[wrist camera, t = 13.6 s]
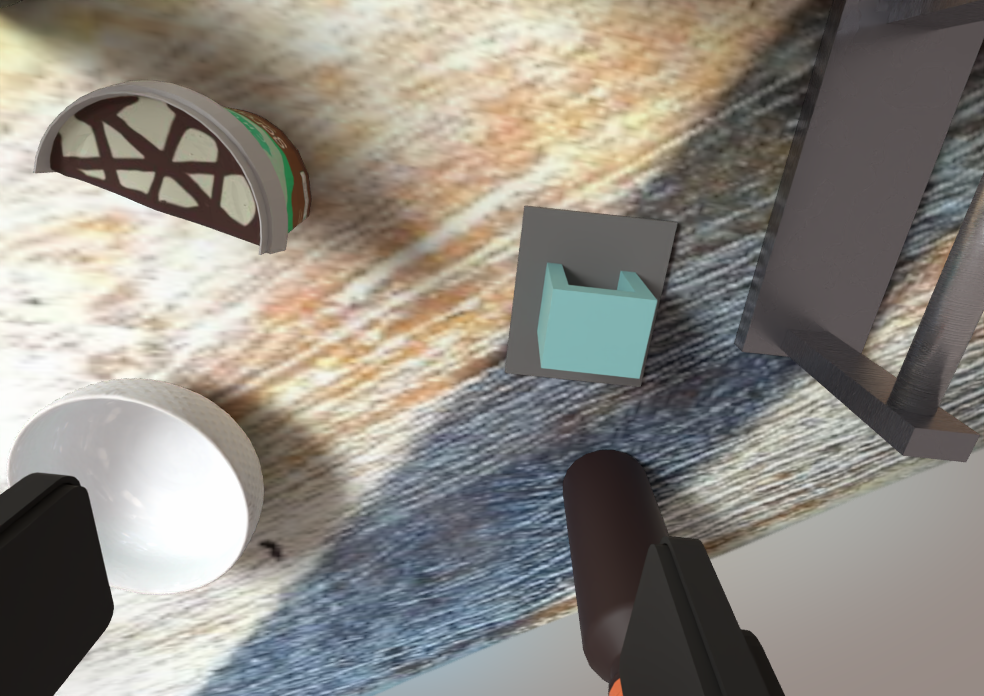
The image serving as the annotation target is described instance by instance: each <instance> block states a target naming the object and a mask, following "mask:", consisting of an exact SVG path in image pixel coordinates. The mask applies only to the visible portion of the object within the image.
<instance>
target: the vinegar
mask: <svg viewBox="0 0 984 696" xmlns="http://www.w3.org/2000/svg"><path fill="white" fill-rule="evenodd" d="M563 498H564V506H565V514H566V521H567V529H568V537H569V544H570V552H571V560H572V567H573V575H574V583H575V590H576V598H577V606H578V613H579V621H580V629H581V636H582V644H583V650H584V654H585V656H586V658H587V660H588V663H589V665H590V667H591V668H592V669H593V670H594V671H595V672H596V673H597V674H598V675H599V676H600V677H601V678H602V679H603V680H604V681H606V682H608V683H609V691H608V692H609V693H608V695H609V696H623V693H622V688H621V683H620V674H619V662H620V655H621V651H622V647H623V643H624V640H625V636H626V632H627V628H628V624H629V621H630V617H631V613H632V609H633V605H634V602H635V598H636V594H637V590H638V586H639V583H640V579H641V575H642V571H643V567H644V564H645V560H646V556H647V552H648V549H649V546H650V545H651V544H659V543H660V541H661V539H662V538H663V536H669V534H668V531H667V528H666V526H665V523H664V520H663V518H662V515H661V512H660V509H659V507H658V504H657V501H656V499H655V496H654V493H653V491H652V488H651V485H650V482H649V480H648V477H647V474H646V472H645V470H644V468H643V467H642V466H641V465H640V463H639V462H638V461H637V460H636V459H634V458H633V457H631V456H629V455H628V454H626V453H623V452H619V451H615V450H598V451H595V452H591V453H588V454H586V455H584V456H582V457H581V458H579V459H578V460H576V461H575V462H574V463H573V464H572V465H571V467H570V468H569V469H568V470H567V473H566V475H565V478H564V480H563Z"/></svg>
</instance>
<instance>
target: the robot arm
mask: <svg viewBox="0 0 984 696" xmlns="http://www.w3.org/2000/svg"><path fill="white" fill-rule="evenodd" d="M113 610H114V604H113V599H112V595H111V590H110V586H109V582H108V577H107V573H106V568H105V564H104V560H103V555H102V551H101V547H100V542H99V538H98V533H97V529H96V525H95V520H94V516H93V511H92V507H91V503H90V498H89V494H88V491H87V489H86V488H85V487H83V486H81V485H80V482H79V480H78V479H77V478H76V477H73V476H69V475H59V474H49V473H39V472H36V473H31V474H29V475H27V476H25V477H24V478H22V479H21V480H20V481H18V482H17V483H16V484H14V485H13V486H11V487H10V488H9V489H7V490H6V491H5V492H3V493H2V494H1V495H0V696H53V695H54V694H55V693H56V692H57V690H58V689H59V688H60V687H61V685H62V684H63V683H64V682H65V680H66V679H67V678H68V676H69V675H70V674H71V673H72V671H73V670H74V669H75V668H76V666H77V665H78V664H79V663H80V661H81V660H82V659H83V658H84V656H85V655H86V654H87V653H88V651H89V650H90V649H91V647H92V646H93V645H94V644H95V642H96V641H97V640H98V639H99V637H100V636H101V635H102V634H103V632H104V631H105V630H106V628H107V627H108V625H109V623H110V621H111V618H112V615H113ZM619 674H620V683H621V688H622V693H623V696H785V695H784V693H783V690H782V688H781V686H780V684H779V682H778V680H777V677H776V675H775V673H774V671H773V669H772V667H771V665H770V662H769V660H768V658H767V656H766V654H765V652H764V650H763V648H762V646H761V644H760V642H759V641H758V639H757V637H756V636H755V635H754V634H753V633H752V632H750V631H748V630H741V629H740V627H739V625H738V622H737V620H736V618H735V616H734V614H733V611H732V609H731V606H730V604H729V602H728V600H727V597H726V595H725V593H724V591H723V588H722V586H721V584H720V582H719V579H718V577H717V575H716V572H715V570H714V568H713V566H712V563H711V561H710V559H709V557H708V554H707V552H706V550H705V548H704V546H703V544H702V542H701V541H700V540H698V539H691V538H681V537H671V536H663V538H662V539H661V541H660V543H659V544H651V545H650V546H649V549H648V552H647V556H646V560H645V564H644V567H643V571H642V575H641V579H640V583H639V586H638V590H637V594H636V598H635V602H634V605H633V609H632V613H631V617H630V621H629V624H628V628H627V632H626V636H625V640H624V643H623V647H622V651H621V655H620V662H619Z"/></svg>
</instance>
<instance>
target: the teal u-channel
mask: <svg viewBox="0 0 984 696" xmlns="http://www.w3.org/2000/svg"><path fill="white" fill-rule="evenodd" d="M656 304H657V299H656V298H655V297H654V296H653V294H652V293H651V292H650V290H649V289H648V288H647V287H646V285H645V284H644V283H643V281H642V280H641V279H640V278H639V276H638V275H637V274H636V272H628V271H621V272H620V277H619V282H618V287H617V290H610V289H601V288H592V287H583V286H574V285H568V282H567V279H566V276H565V272H564V269H563V266H562V264H555V263H547V267H546V274H545V280H544V287H543V294H542V301H541V308H540V315H539V322H538V329H537V335H538V344H539V353H540V363H541V368H546V369H555V370H564V371H574V372H583V373H592V374H601V375H610V376H619V377H628V378H638V379H639V378H640V374H641V369H642V365H643V361H644V356H645V352H646V348H647V343H648V339H649V334H650V330H651V326H652V321H653V317H654V313H655V308H656Z"/></svg>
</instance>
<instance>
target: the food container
mask: <svg viewBox="0 0 984 696" xmlns="http://www.w3.org/2000/svg"><path fill="white" fill-rule="evenodd" d="M48 172H58V173H61V174H63V175H65V176H67V177H72V178H76V179H79V180H82V181H85V182H87V183H90V184H93V185H95V186H98V187H101V188H103V189H106V190H108V191H111V192H113V193H116V194H118V195H121V196H123V197H126V198H128V199H130V200H133V201H135V202H137V203H140V204H142V205H145V206H147V207H149V208H152V209H154V210H157V211H160V212H163V213H166V214H169V215H172V216H176V217H179V218H182V219H185V220H188V221H191V222H194V223H197V224H200V225H203V226H206V227H209V228H212V229H215V230H218V231H220V232H223V233H226V234H229V235H231V236H234V237H237V238H240V239H243V240H245V241H248V242H251V243H254V244H256V245H259V246H260V248H259V255H262V254H264V253H269V254H272V253H276V252H280V251H284V250H286V244H287V237H288V233H289V232H290V231H292V230H293V229H294V228H295V227H296V226H297V225H299V224H300V223H301V222H302V221H303V220H304V219H306V218H307V217H308V216H309V211H310V205H311V192H310V184H309V176H308V173H307V170H306V168H305V166H304V163H303V161H302V159H301V156H300V154H299V152H298V150H297V149H296V148H295V146H294V145H293V144H292V143H291V141H290V140H289V139H288V138H287V136H286V135H285V134H284V133H283V132H282V131H281V130H280V129H279V128H277V127H276V126H274V125H273V124H272V123H270V122H269V121H268V120H266V119H264V118H262V117H260V116H258V115H256V114H253V113H250V112H247V111H243V110H238V109H233V108H227V107H222V106H220V105H219V104H217V103H216V102H214V101H213V100H211V99H210V98H208V97H206V96H204V95H202V94H200V93H198V92H196V91H194V90H191V89H189V88H186V87H183V86H179V85H176V84H173V83H169V82H161V81H154V80H139V81H128V82H124V83H120V84H115V85H112V86H108V87H105V88H102V89H98V90H95V91H93V92H91V93H89V94H87V95H84V96H82V97H80V98H79V99H77V100H76V101H75V102H73V103H72V104H71V105H69V106H68V107H66V109H65V110H64V111H63V112H61V113H60V114H59V115H58V116H57V117H56V118H55V120H54V121H53V122H52V123H51V124H50V125H49V127H48V129H47V130H46V132H45V134H44V136H43V137H42V139H41V141H40V144H39V147H38V151H37V154H36V157H35V164H34V171H33V173H48Z"/></svg>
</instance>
